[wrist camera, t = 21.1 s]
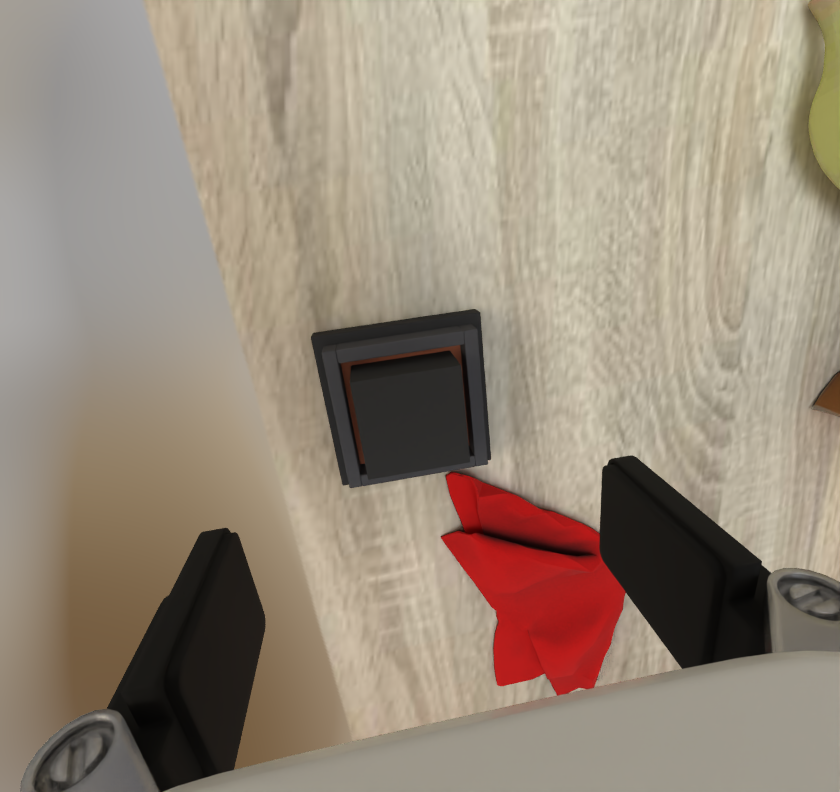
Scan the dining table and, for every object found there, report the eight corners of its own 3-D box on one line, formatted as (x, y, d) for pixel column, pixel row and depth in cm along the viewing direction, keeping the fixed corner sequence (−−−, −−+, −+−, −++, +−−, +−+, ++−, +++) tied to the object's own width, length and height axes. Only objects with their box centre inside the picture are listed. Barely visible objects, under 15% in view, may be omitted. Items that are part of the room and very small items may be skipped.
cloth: (644, 665, 41) (659, 689, 39) (501, 713, 41) (509, 740, 39) (607, 419, 31) (625, 432, 29) (421, 480, 31) (425, 497, 29)
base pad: (343, 476, 30) (341, 498, 28) (312, 332, 27) (307, 343, 24) (486, 451, 31) (497, 471, 29) (475, 308, 28) (487, 316, 25)
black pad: (367, 454, 29) (368, 480, 26) (350, 365, 26) (349, 382, 23) (459, 438, 29) (470, 462, 26) (450, 349, 27) (461, 364, 24)
